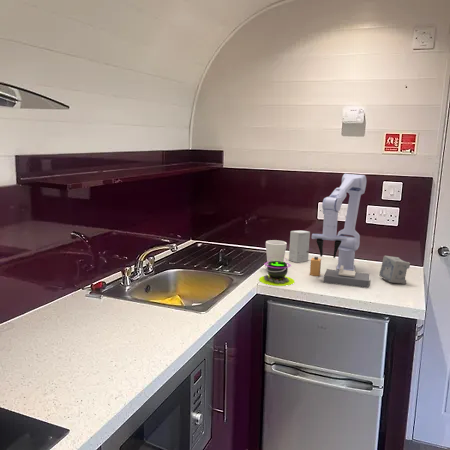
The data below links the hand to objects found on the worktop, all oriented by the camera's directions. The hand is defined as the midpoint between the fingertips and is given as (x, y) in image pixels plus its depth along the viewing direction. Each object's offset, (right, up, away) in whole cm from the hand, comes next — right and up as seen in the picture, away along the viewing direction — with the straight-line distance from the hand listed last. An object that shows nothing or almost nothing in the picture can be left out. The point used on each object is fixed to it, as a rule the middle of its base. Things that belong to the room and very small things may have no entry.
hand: (327, 256), depth 200 cm
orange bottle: (-4, -8, +8) cm, 12 cm away
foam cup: (-21, -7, +13) cm, 26 cm away
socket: (+8, -10, -1) cm, 13 cm away
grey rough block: (+29, -11, +2) cm, 31 cm away
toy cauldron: (-22, -10, -2) cm, 25 cm away
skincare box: (-8, -4, +31) cm, 32 cm away
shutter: (+8, -7, -1) cm, 11 cm away
